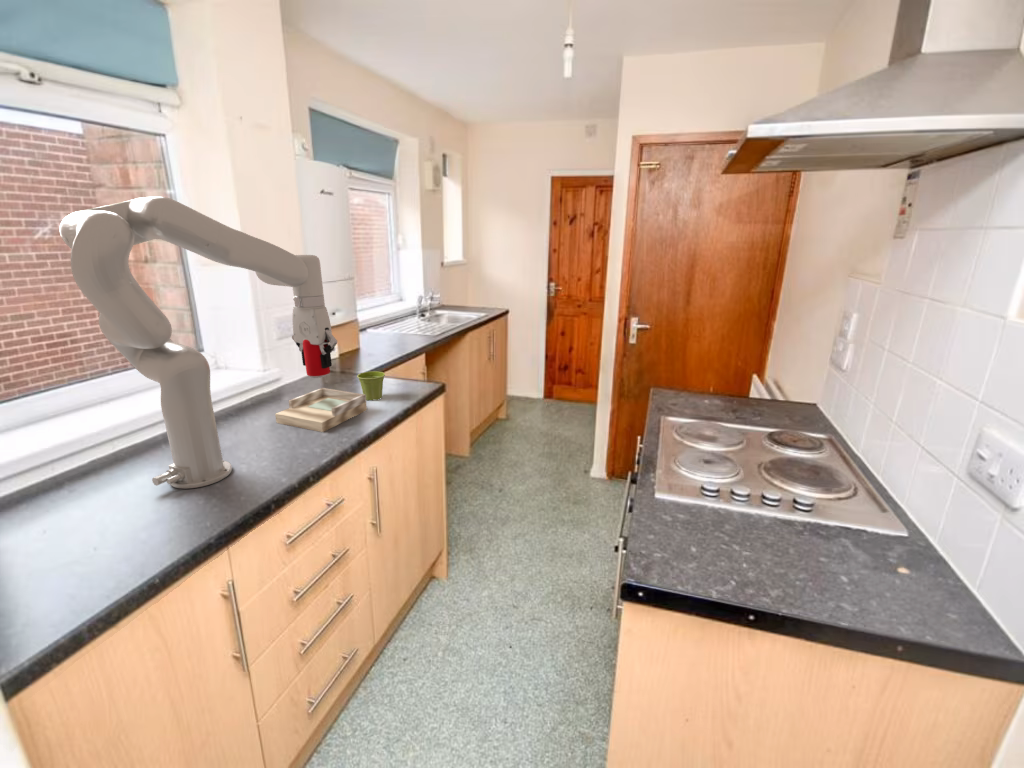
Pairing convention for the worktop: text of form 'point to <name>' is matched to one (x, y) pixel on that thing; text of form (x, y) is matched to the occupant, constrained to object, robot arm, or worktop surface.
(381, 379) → the plant pot
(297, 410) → the dock
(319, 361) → the beverage can
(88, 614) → the worktop surface
